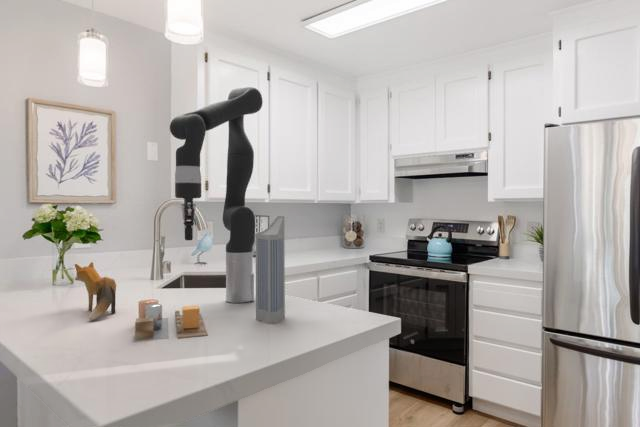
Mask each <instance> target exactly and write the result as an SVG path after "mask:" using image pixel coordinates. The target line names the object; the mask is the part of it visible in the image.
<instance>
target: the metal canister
mask: <svg viewBox="0 0 640 427" xmlns="http://www.w3.org/2000/svg"><path fill="white" fill-rule="evenodd" d="M149 317H154V330H159V329H162V318H163V304H162V303H158V304H149V305H146V318H149Z"/></svg>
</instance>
